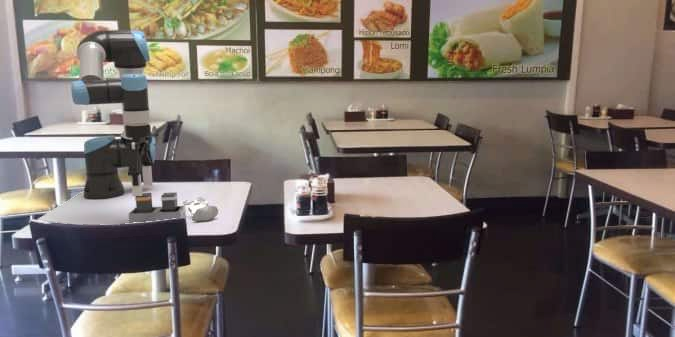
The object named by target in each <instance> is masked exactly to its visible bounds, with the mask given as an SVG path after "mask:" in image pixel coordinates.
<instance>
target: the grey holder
mask: <svg viewBox="0 0 675 337" xmlns="http://www.w3.org/2000/svg"><path fill="white" fill-rule="evenodd" d="M160 200H161V206H152V209H153V212H146V213H137V208H136V207H134V209H132V210H131V211H130V212H129V213H128V222H129V223H133V222H146V221H156V220H164V219H172V218H180V217H185V218H186V219H187V214H186V205H178V204H179V203H178V192H177V191H176V192H163V194H162V195H161V197H160Z"/></svg>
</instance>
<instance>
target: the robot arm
mask: <svg viewBox="0 0 675 337" xmlns="http://www.w3.org/2000/svg"><path fill="white" fill-rule="evenodd" d="M76 57H77V59H78V60H79V67H78V68H79V70H78V71H79V74H78V80H74V81H72V82H71V83H70V84H71V85H70V90H71V98H72V99H71V100H72V103H73V104H75V105H78V106H79V105H82V106H84V105H85V106H88V105H90V106H91V105H106V104H107V105H108V104H110V105H111V104H121V108H122V109H121V110H122V121H123V131H122V132H121V134H120V138H116V136H115V135H113V134H112V135H104V136H103V135H102V136H98V137H93V138H90V139H87V140H86V141H85V142H84V143H83V155H84V160H85V171H86V172H85V173H86V179H85V184H84V187H83V188H84V189H83V197H84V198H85V199H89V200H91V199H92V200H101V199H111V198H115V197H120V196H123V195H124V194H125V187H124V185H123V183H122V180H121V177H120V176H119V169H121V168H128V172H127V176H130V181H131V190H132V191H131V192H132V197H135V196H142V193H143V187H151V186H154V184H153V175H152V174H153V172H152V166H154V164H155V158H156V137H155V136H152V130H151V124H150V123H151V116H150V106H149V93H148V92H149V91H148V84H149V83H148V81H147V76H146V75H145V74H144V73H143V72H144V70H145V69H146V68H147V63H149V62H150V61H151V57H150V52H149V47H148V41H147V38H146V35H145V33H144V32H143V31H141V30H134V29H133V30H132V29H121V30H120V29H115V30H111V29H110V30H109V29H108V30H103V29H102V30H97V31H96V30H95V31H93V32H91V33H89V34H87V35H86V36H85V37H83V38H82V39H81V41H79V44H78V45H77V47H76ZM104 63H113V65H114V68H115V69H116V70H117V71H118V74H119V79H105V75H104ZM141 168H142V174H140V172H141ZM141 175H142V176H141ZM142 179H143V180H142ZM142 182H143V187H142Z"/></svg>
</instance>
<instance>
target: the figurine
mask: <svg viewBox="0 0 675 337" xmlns="http://www.w3.org/2000/svg"><path fill="white" fill-rule="evenodd" d="M202 202H205V204H206V205H204V204H202ZM182 204H183V206H186V210H188V212H189V214H190V216H191V220H192V222H196V223H199V222H198V221H200V222H208V221H211V220H214V219H215V218H216V217H217V216H218V214H219V209H218V207H217V206H216V205H209V202H208V201H207V200H206V198H205V199H204V198H203V197H201V196H200V197H197V199H195V200H192V201H191V200H190V201H189V202H188V199H185V200H184V201H182Z"/></svg>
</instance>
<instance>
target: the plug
mask: <svg viewBox="0 0 675 337" xmlns="http://www.w3.org/2000/svg"><path fill="white" fill-rule="evenodd" d="M134 199H135V208H137V213H146V212H153V209H152V207H153V200H152V199H153V194H152V192H142V196H134Z"/></svg>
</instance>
